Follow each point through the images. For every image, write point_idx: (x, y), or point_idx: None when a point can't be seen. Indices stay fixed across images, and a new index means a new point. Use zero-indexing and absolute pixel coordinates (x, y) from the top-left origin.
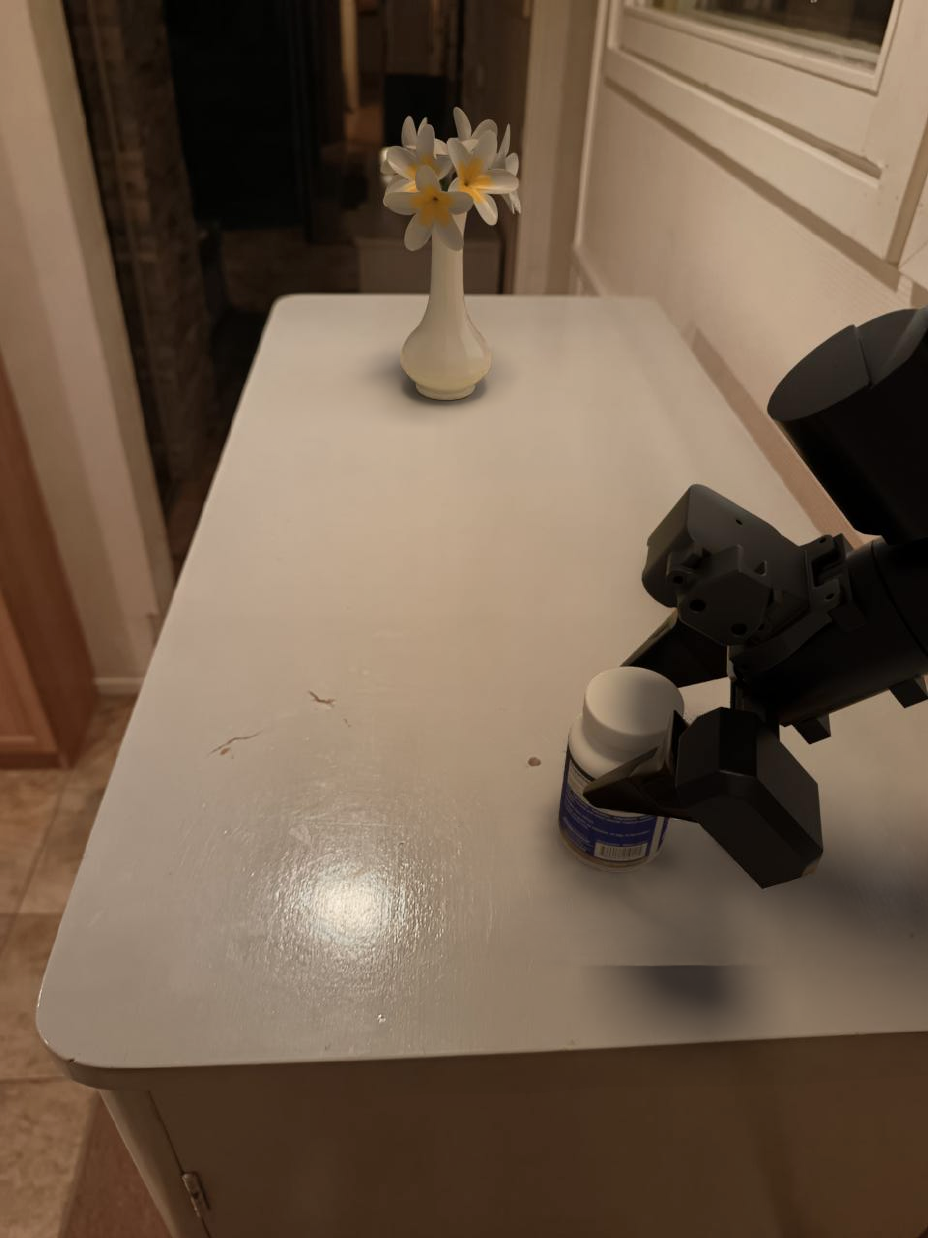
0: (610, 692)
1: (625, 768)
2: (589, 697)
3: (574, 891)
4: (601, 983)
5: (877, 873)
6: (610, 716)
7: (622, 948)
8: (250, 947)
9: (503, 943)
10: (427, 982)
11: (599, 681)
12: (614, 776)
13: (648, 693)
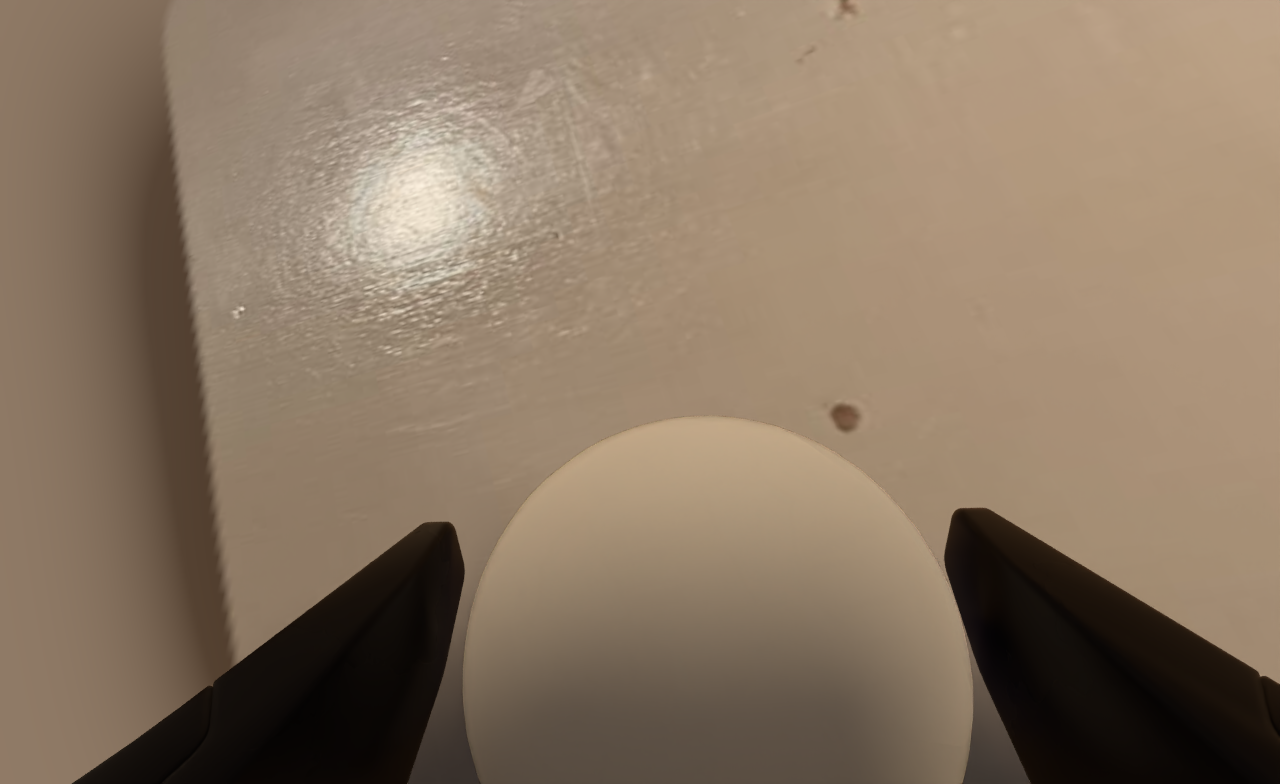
0: (720, 528)
1: (293, 664)
2: (655, 438)
3: None
4: None
5: None
6: (551, 552)
7: None
8: (325, 107)
9: (390, 459)
10: (302, 358)
11: (782, 465)
12: (325, 620)
13: (770, 732)
